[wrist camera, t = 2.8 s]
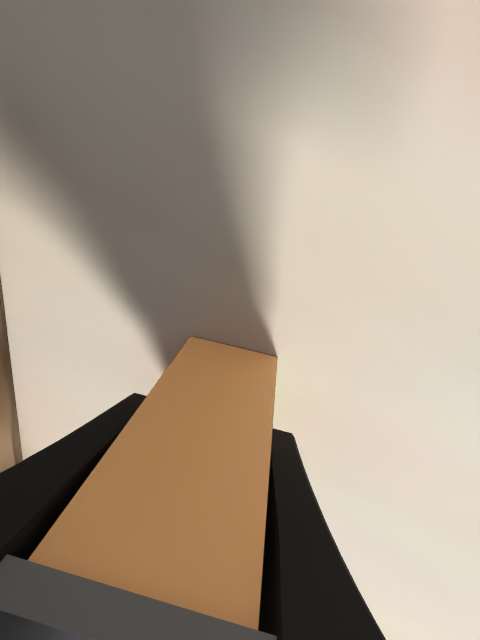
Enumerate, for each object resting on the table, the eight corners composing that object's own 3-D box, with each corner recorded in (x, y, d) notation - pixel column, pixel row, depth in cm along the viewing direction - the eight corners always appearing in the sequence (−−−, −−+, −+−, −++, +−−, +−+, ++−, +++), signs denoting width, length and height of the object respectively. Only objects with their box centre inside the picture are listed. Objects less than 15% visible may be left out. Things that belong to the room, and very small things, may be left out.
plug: (262, 431, 12) (220, 798, 5) (175, 409, 12) (4, 723, 5) (284, 353, 11) (275, 697, 3) (185, 330, 11) (-31, 600, 4)
